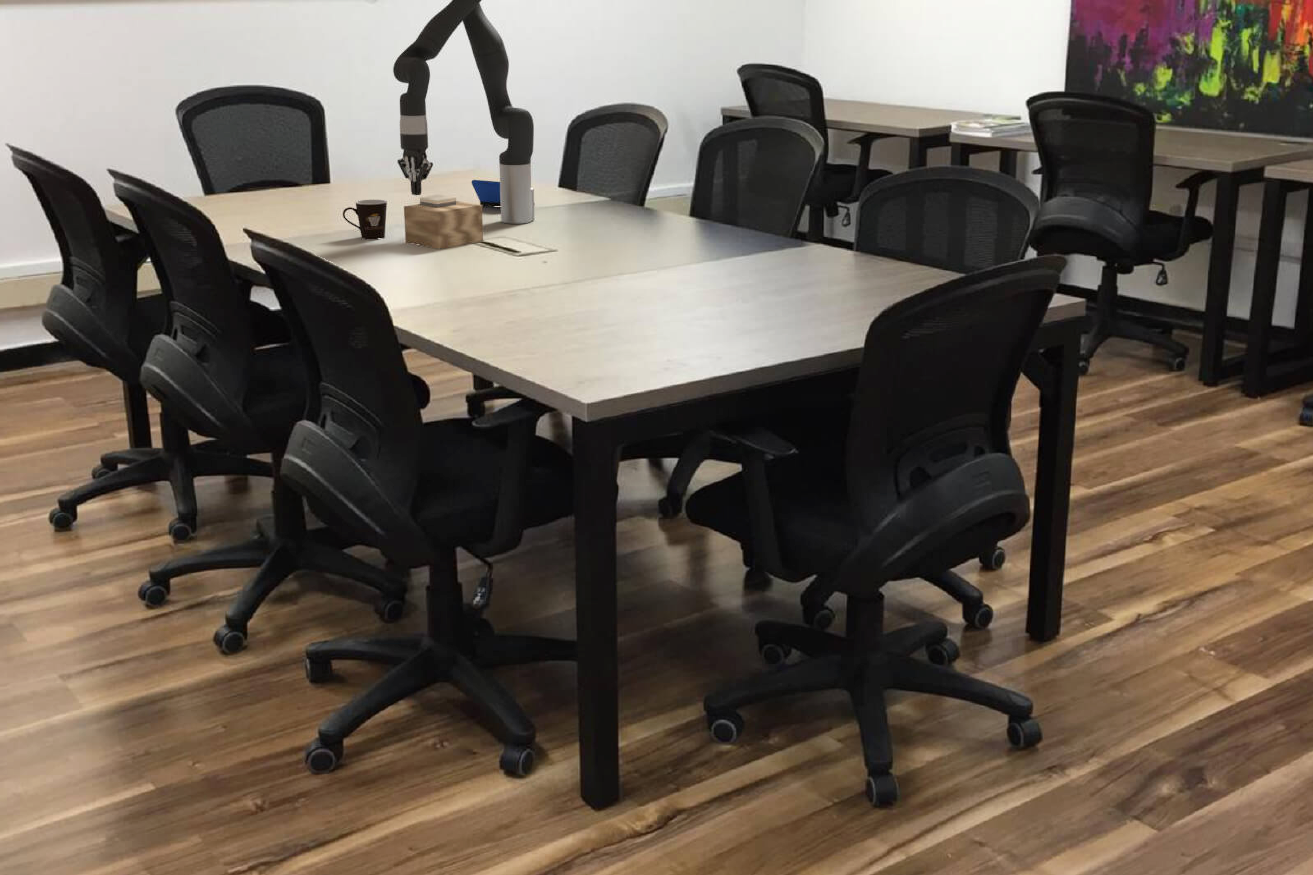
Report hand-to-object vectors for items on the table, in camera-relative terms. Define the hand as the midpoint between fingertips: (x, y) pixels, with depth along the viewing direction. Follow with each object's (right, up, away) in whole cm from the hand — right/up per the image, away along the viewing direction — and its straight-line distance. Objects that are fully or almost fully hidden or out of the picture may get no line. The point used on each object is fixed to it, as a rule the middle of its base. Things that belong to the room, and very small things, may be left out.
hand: (416, 194), depth 414 cm
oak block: (+8, -14, -3) cm, 16 cm away
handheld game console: (+19, +5, +54) cm, 58 cm away
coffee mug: (-14, -12, +3) cm, 19 cm away
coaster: (+7, -4, -5) cm, 9 cm away
